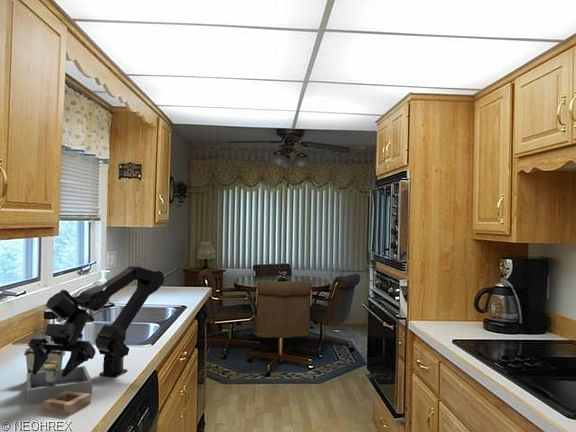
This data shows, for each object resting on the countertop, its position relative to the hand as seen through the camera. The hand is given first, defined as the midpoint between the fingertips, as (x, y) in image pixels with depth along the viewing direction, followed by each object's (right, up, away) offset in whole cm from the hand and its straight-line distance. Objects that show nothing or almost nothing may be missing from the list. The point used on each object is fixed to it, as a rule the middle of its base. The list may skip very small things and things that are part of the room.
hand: (48, 375), depth 132 cm
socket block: (+9, -7, -8) cm, 14 cm away
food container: (-10, -7, +19) cm, 23 cm away
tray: (+1, -7, +5) cm, 9 cm away
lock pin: (0, -7, +1) cm, 7 cm away
